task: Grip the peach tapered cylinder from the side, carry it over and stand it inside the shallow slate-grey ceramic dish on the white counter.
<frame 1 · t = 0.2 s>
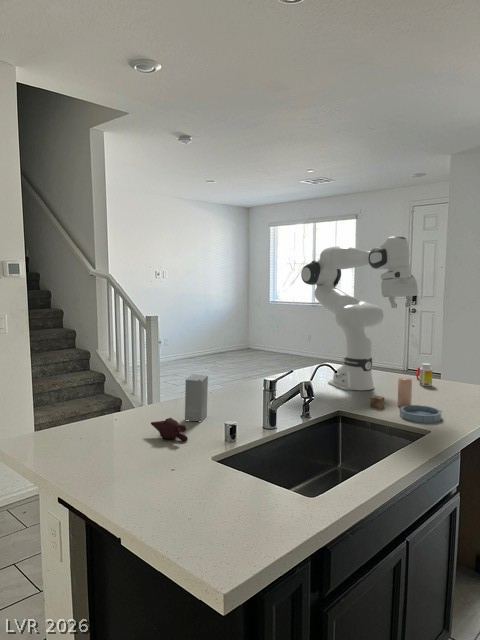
hand: (401, 307, 197), 39 cm above the worktop, tool pointing down, fingers open, 8 cm apart
supplement bottle: (425, 385, 224), on the worktop
dish: (420, 416, 174), on the worktop
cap: (423, 379, 237), on the worktop
peach tapered cylinder: (404, 406, 188), on the worktop
walnut block: (377, 407, 188), on the worktop
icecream: (168, 439, 152), on the worktop
skincare box: (196, 419, 173), on the worktop
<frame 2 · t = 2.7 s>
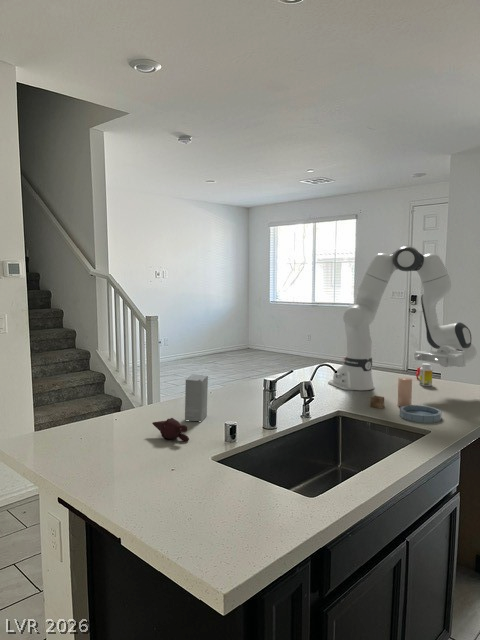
hand: (425, 359, 193), 18 cm above the worktop, tool horizontal, fingers open, 8 cm apart
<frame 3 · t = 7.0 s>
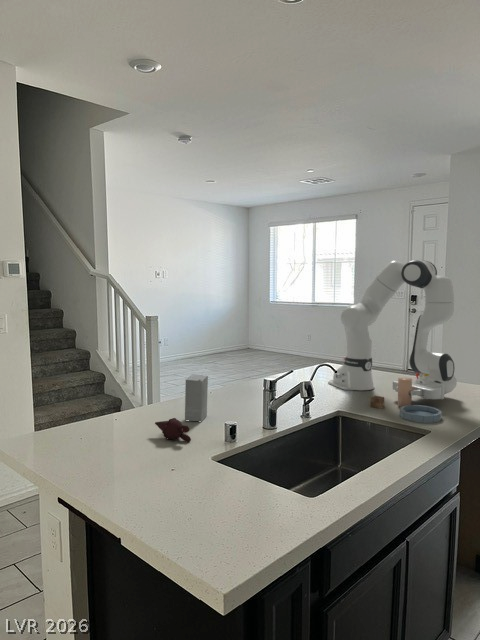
hand: (403, 391, 187), 6 cm above the worktop, tool horizontal, fingers closed on peach tapered cylinder, 5 cm apart
peach tapered cylinder: (404, 406, 188), on the worktop, touching gripper
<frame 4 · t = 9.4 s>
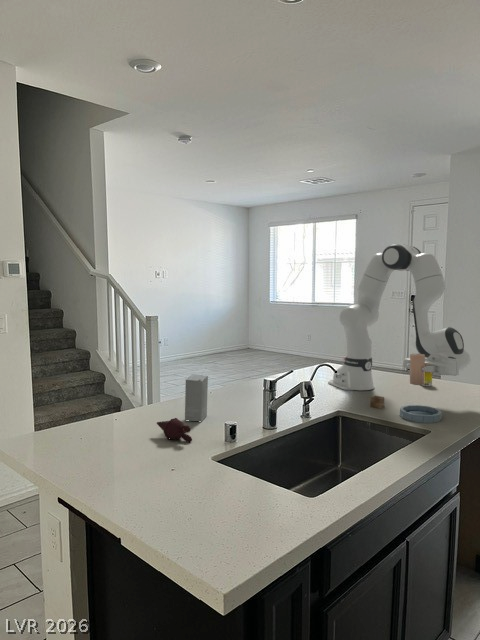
hand: (415, 368, 177), 17 cm above the worktop, tool horizontal, fingers closed on peach tapered cylinder, 5 cm apart
peach tapered cylinder: (417, 383, 178), point 11 cm above the worktop, touching gripper
when the fingers open (8 cm above the worktop, at t = 12.0 s): peach tapered cylinder stays where it is, resting on dish.
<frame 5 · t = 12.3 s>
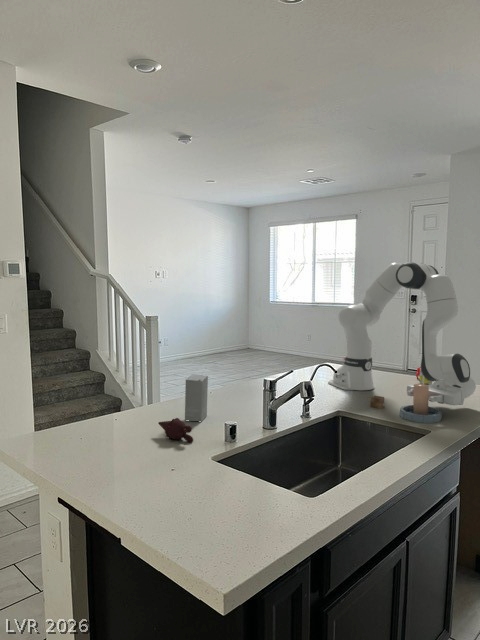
hand: (419, 396, 173), 8 cm above the worktop, tool horizontal, fingers open, 8 cm apart
peach tapered cylinder: (420, 414, 174), point 1 cm above the worktop, touching dish
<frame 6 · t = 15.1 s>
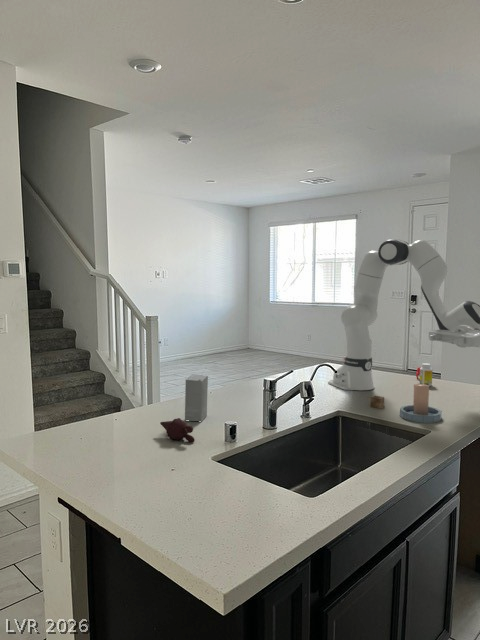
hand: (441, 340, 178), 28 cm above the worktop, tool horizontal, fingers open, 8 cm apart
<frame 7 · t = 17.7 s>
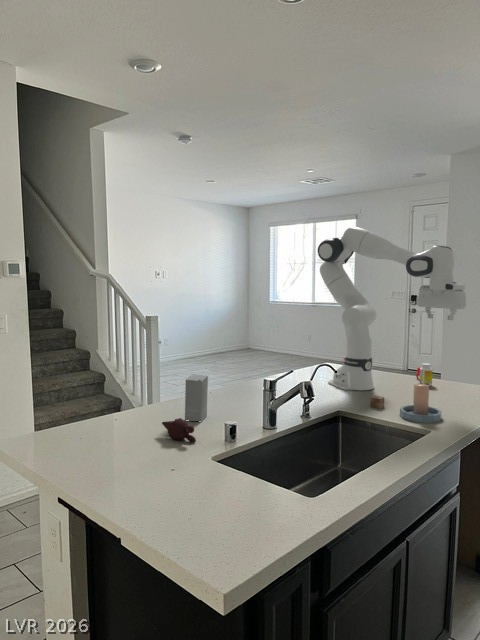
hand: (440, 319, 193), 34 cm above the worktop, tool pointing down, fingers open, 8 cm apart
at the end: peach tapered cylinder 0.1 cm from the dish (horizontally); peach tapered cylinder point 0.8 cm above the worktop; peach tapered cylinder tilted 0° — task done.
